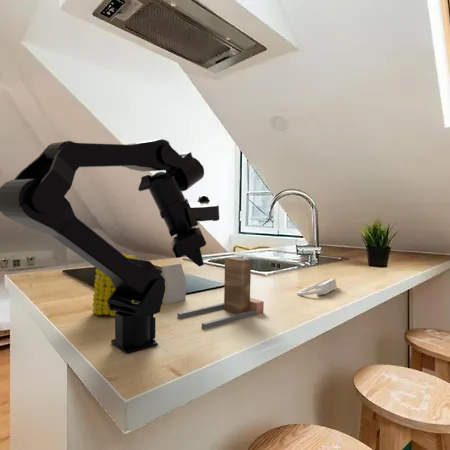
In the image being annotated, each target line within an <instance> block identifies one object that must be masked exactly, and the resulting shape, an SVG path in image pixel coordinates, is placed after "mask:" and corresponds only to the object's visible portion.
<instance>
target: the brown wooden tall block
mask: <svg viewBox="0 0 450 450" xmlns="http://www.w3.org/2000/svg"><path fill="white" fill-rule="evenodd" d="M251 265H252V259H249V258H243V257H237V256H230V257H229V256H228V257H224V284H223V285H224V287H223V288H224V291H223V294H224V297H223V299H224V300H223V303H224V308H223V311H227V312H229V313H233V314H234V315H235V314H239V313H243V312H247V311H250V298H251V279H252V278H251V277H252V276H251V274H252V273H251V271H252V268H251V267H252V266H251Z"/></svg>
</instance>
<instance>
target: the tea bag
mask: <svg viewBox="0 0 450 450" xmlns="http://www.w3.org/2000/svg"><path fill="white" fill-rule="evenodd" d="M160 270H161V271H162V273H161V275H162V276H163V277H164V279H165V293H164V297H163V301H162V305H167V306H168V305H171V304H174V303H179V302H182V301H185V300H186V298H187V297H186V292H187V291H186V289H187V287H186V286H187V285H186V284H187V283H186V282H187V281H186V280H187V279H186V275H185V271H184V269H183V266H182V263H173V264H168V265H163V266H161V269H160Z"/></svg>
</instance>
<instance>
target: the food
mask: <svg viewBox="0 0 450 450" xmlns="http://www.w3.org/2000/svg"><path fill="white" fill-rule="evenodd" d="M121 253H122V252H121ZM122 254H123V255H124V256H125V257H127V258H132V259H139V258H138V256H136V255H135V254H133V255H131V254H127V253H125V252H124V253H122ZM95 273H96V274H95V275H94V277H95V279H94V283H93V286H94V288H93V292H94V294H93V298H92V301H93V304H92V307H93V308H92V314H94V315H96V316H102V315H105V316H106V315H107V316H110V317H115V312H117V311H114V310H113V311H112V310H110V309H109V306H108V303H107V300H108V299H109V297H110V296H111V294H112V293H113V291H114V290H115V289H116V288H115V287H114V285H113V282H112V279H111V278H110V277H109V276H107V275H106V274H104V273H103V272H102V271H100V270H99V269H97V268H96V269H95ZM134 301H135V300H132V303H135V302H134Z"/></svg>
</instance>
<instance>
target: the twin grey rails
mask: <svg viewBox="0 0 450 450" xmlns="http://www.w3.org/2000/svg"><path fill="white" fill-rule="evenodd" d="M264 304H265V303H264V301H263V300H259V299H256V298H252V297H250V311H247V312H243V313H239V314H235V313H234V314H231V315H228V316H223V317H219V318H215V319H212V320H207V321H204V322H201V328H202V329H203V330H206V329H211V328H213V327H218V326H222V325H225V324H228V323H233V322H236V321H240V320H243V319H247V318H251V317H255V316H258V315H263V314H264V307H265V306H264ZM222 309H223V310H224V302H222V303H218V304H212V305H208V306H203V307H198V308H195V309H190V310H185V311H181V312H177V318H178V319H180V320H181V319H185V318H189V317H194V316H197V315H202V314H205V313H210V312H213V311H218V310H222Z"/></svg>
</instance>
